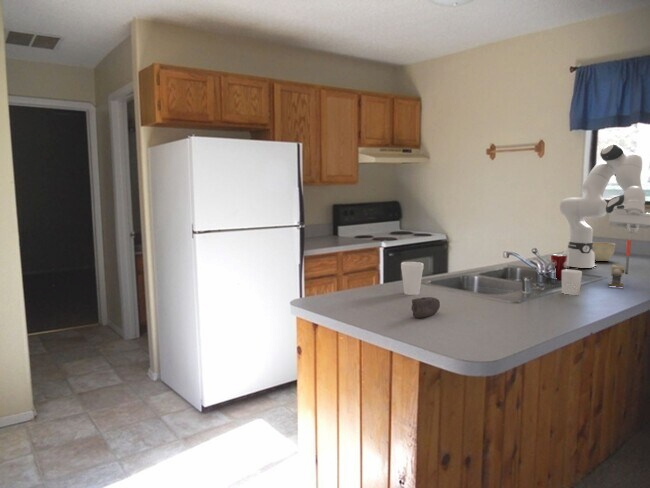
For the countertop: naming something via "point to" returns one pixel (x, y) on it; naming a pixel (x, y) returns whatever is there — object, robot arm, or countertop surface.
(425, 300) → the perforated stone tool
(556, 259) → the soda can
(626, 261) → the lever
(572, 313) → the countertop surface
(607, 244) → the planter bowl
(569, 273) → the white cup
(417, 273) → the foam cup
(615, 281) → the valve stand
